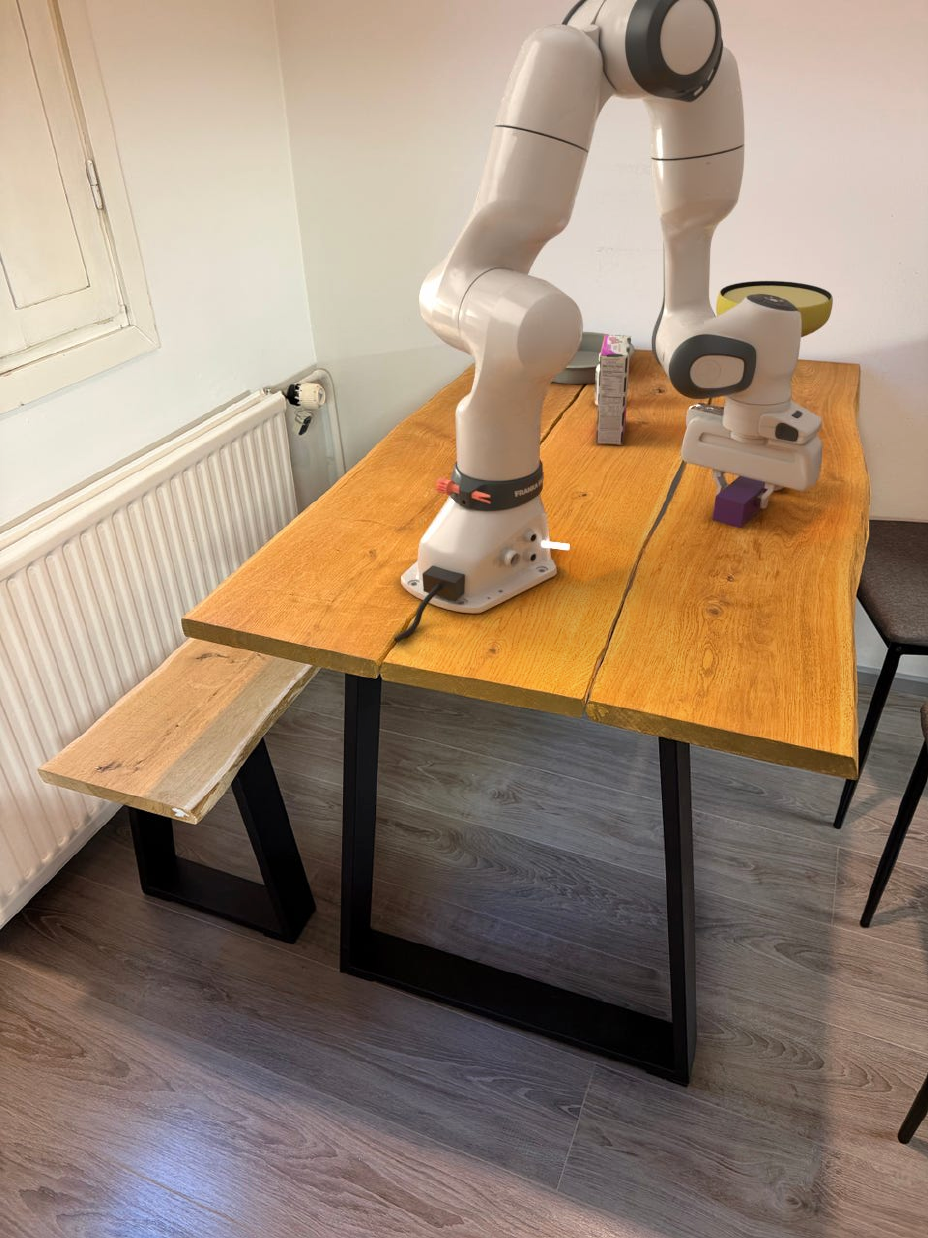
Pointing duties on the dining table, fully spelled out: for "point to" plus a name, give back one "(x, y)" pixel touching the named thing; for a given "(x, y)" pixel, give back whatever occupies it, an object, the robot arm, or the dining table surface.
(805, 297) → the cocktail glass
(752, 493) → the purple rectangular block
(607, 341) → the candy bar box
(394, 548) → the dining table surface
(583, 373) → the cake pan
